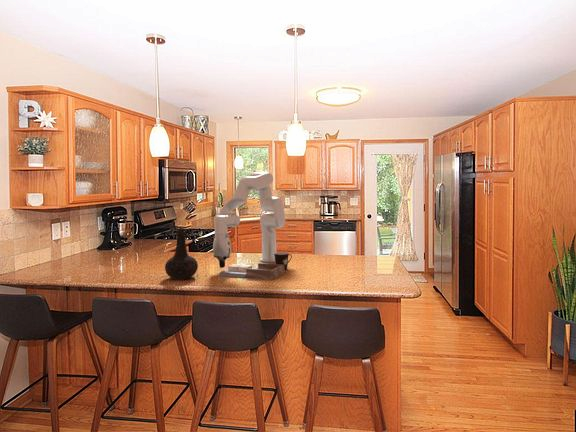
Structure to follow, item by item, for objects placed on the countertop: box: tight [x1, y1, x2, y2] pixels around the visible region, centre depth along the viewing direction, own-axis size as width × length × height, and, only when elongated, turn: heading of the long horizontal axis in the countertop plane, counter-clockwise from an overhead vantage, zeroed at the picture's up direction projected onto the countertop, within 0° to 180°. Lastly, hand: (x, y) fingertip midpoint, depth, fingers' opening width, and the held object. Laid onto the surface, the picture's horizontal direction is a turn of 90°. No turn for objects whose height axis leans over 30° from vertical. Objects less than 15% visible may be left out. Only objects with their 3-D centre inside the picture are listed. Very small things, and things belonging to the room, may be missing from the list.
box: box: [245, 262, 285, 281], centre depth 257 cm, size 17×16×5 cm
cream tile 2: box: [238, 264, 253, 272], centre depth 261 cm, size 6×6×2 cm
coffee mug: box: [274, 251, 293, 272], centre depth 271 cm, size 12×9×10 cm
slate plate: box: [219, 266, 258, 279], centre depth 263 cm, size 18×16×2 cm
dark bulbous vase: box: [164, 227, 199, 280], centre depth 252 cm, size 18×18×28 cm
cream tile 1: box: [227, 263, 242, 271], centre depth 264 cm, size 6×6×2 cm
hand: (222, 267), depth 267 cm, fingers closed
